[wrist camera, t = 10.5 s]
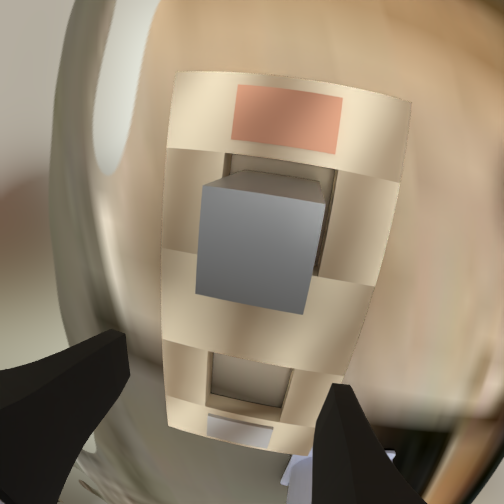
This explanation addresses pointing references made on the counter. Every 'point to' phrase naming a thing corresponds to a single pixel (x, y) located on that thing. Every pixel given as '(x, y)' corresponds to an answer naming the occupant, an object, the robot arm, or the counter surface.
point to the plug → (259, 239)
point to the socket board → (324, 275)
